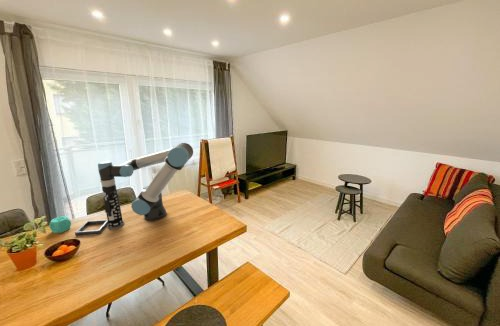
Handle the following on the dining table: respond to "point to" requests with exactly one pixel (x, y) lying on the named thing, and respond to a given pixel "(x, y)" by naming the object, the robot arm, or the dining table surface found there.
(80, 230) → the grey square frame
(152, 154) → the robot arm
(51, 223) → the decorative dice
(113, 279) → the dining table surface
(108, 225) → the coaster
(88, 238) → the dining table surface
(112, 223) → the spotted tube
